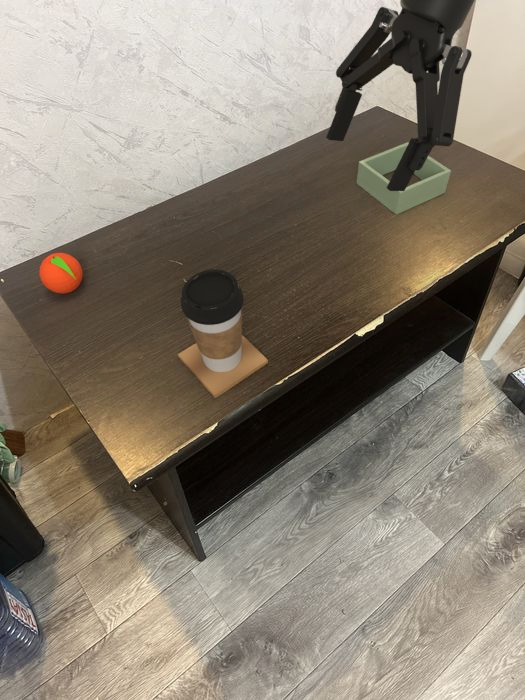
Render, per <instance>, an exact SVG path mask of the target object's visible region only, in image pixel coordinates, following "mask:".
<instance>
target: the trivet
mask: <svg viewBox="0 0 525 700" xmlns="http://www.w3.org/2000/svg"><path fill="white" fill-rule="evenodd" d="M177 357H178V358H179V360H180V361H181V362H182V364H184V366H185V367H186V368H187V369H188V370H189V371H190V372H191V373H192V374H193V375H194V377H195V378H196V379H197V380H198V381H199V382H200V383H201V384H202V386H203V387H204V388H205V389H206V390H207V391H208V392H209V394H210V395H211V396H212V397H213V398H214V399H217V398H218V397H220V396H221V395H223V394H224V393H226V392H227V391H229V390H230V389H232V388H233V387H234V386H236V385H238V384H239V383H240V382H242V381H244V380H245V379H246V378H248V377H249V376H251V375H252V374H254V373H255V372H257V371H258V370H259V369H261V368H263V367H264V366H266V365H267V364H268V363H269V360H268V358H266V356H265V355H264V354H262V353H261V352H260V351H259V349H257V347H255V346H254V345H253V344H252V343H251V342H250V341H249V340H248V339H247V338H246V337H245V336H244V335H243V334H242V356H241V361H240V363H239V364H238V365H237V366H236V367H235V368H234V369H232V370H230V371H227V372H215V371H212V370H210V369H209V368H208V367H207V366H206V365H205V363H204V361H203V358H202V355H201V353H200V350H199V348H198V346H197V343H196V342H195V343H194V344H192V345H190V346H189V347H187V348H185V349H184V350H182V351H180V352H179V353H177Z"/></svg>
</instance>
